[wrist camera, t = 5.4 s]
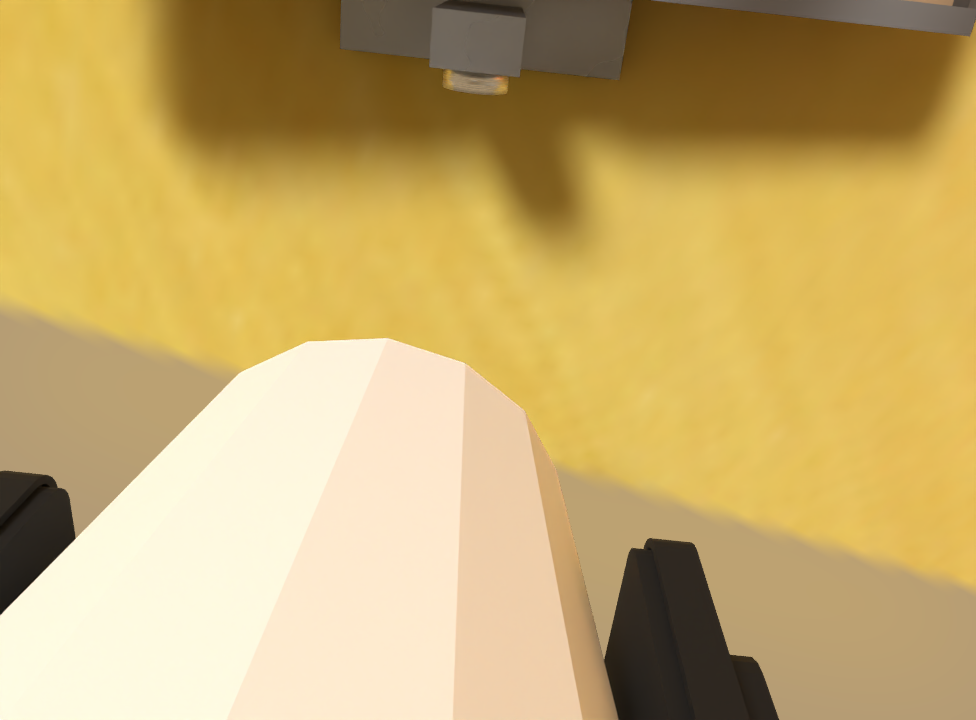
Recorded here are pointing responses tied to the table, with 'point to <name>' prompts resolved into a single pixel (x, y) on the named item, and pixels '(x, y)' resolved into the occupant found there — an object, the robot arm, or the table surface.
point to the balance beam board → (865, 12)
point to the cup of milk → (322, 562)
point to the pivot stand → (492, 37)
